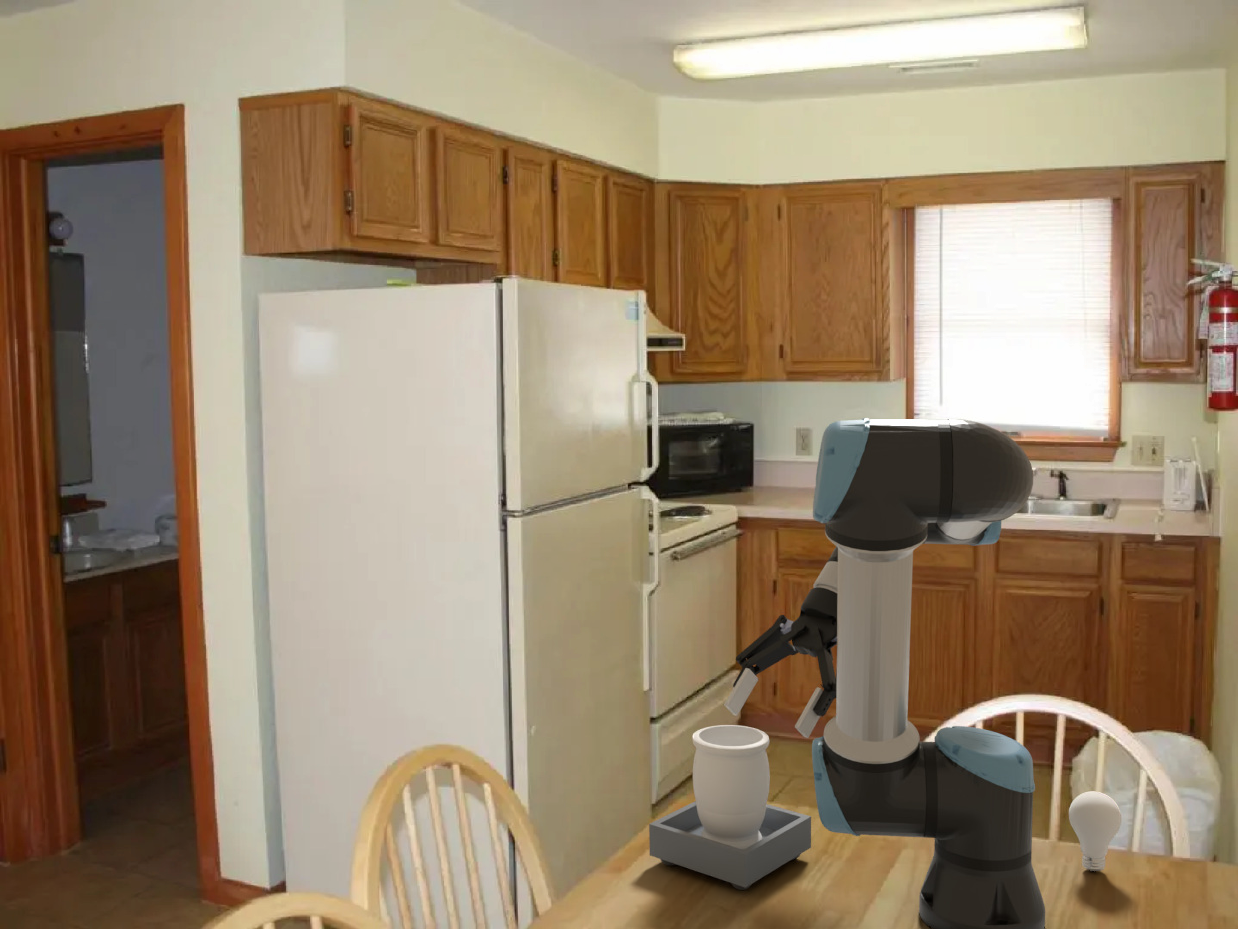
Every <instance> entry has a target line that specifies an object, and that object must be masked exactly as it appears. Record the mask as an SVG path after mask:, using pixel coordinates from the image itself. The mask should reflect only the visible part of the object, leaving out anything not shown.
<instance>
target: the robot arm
mask: <svg viewBox="0 0 1238 929" xmlns="http://www.w3.org/2000/svg"><path fill="white" fill-rule="evenodd" d="M821 438H822V439H821V442H820V448H819V453H818V454H819V455H818V459H817V467H816V474H815V487H814V492H813V503H812V518H813V519H814V521H815V522H819V523H821V524H824V534H825V536H826V538H827V540H829V542H831V543H832V544H833V545H834V546H835V547H834V550H833V551H832V553H831V555H830V557H829V559H828V560H827V561H826V563H825V565H824V567H823V568H822V570H821V571H820V573H819V575H817V576H818V577H817V578H816V580H815V581H814V583H813V588H811V589H810V590H809V592H808V593H807V595H806V597H805V598H804V600H803V602H802V604H800V605H801V606H800V614H799V616H798V617H797V619H796V620H794V621H793V620H790V619H788V618H787V616H786V615H785V614H781V615H779V616H778V617H777V618H776V620H775V622H774V623H773V624H772V625H771V626H770V627H769V628H768V629H767V630H766V631H765V632H763V633H762V634H760V636H759V637H758V638H756V639H755V640H754V641H753V642H752V643H751V644H749V645H748V646H747V647H746V648H745V649H743V651H742V652H740V653H739V654H737V656H736V657H735V660H736V662H737V664H739V666H741V670H740V672H739V674H738V675H737V676H736V678H735V680H734V681H733V684H732V687H733V688H732V690H731V692H730V693H729V696H728V697H727V699H726V700H725V702H724V704H723V705H724V707H726V709H727V710H728V711H729V712H730V713H731V714H732V715H733V716H736V717H737V716H738V715H739V714H740V712H741V710H742V708H743V707H744V705H745V703H746V701H747V699H748V698H749V696H750V694H751V693H752V691H753V689H754V688H755V686H756V684H757V682H758V681H759V677H758V676H757V675H758V674H760V673H762V672H764V671H765V670H767V669H768V668H770V667H772V666H774V665H775V664H777V663H779V662H780V661H782V660H784V659H785V658H788V656H795V655H797V654H798V653H799V654H800V655H809V656H811V657H812V658H816V659H817V661H818V667H819V673H820V677H821V684H820V687H817V686H816V687H815V689H814V691H813V693H812V695H811V696H810V698H809V700H808V702H807V704H806V705H805V707H804V709H803V711H802V713H801V714H800V715H799V716H800V717H798V719H797V721H796V722H795V725H794V728H795V729H796V730H797V731H798V733H800V734H801V736H802V737H804V738H806V739H809V737H810V736H811V735H812V732H813V731H814V729H815V727H816V725H817V723H818V721H819V720H820V718H821V717H822V718H824V717H825V715H826V714H827V712H828V710H829V709H830V706H831V705H832V704H833V702H834V700H835V699H836V701H835V702H836V703H835V704H836V705H835V706H836V708H835V711H836V713H835V715H834V716H833V717H832V718H831V719H830V720H829V721H828V722H827V723H826V724H825V726H824V727H823V728H824V730H823V735H821V737H816V738H814V739H813V740H812V744H811V757H812V770H813V780H814V790H815V800H816V806H817V811H818V816H819V820H820V822H821V824H822V826H823V827H824V828H825V829H827V830H828V831H829V832H831V833H832V832H833V833H838V834H839V833H840V834H847V835H852V836H855V837H860V836H863V835H864V836H881V837H882V836H883V837H884V836H886V837H907V838H929V839H934V844H933V845H934V851H933V856H932V857H931V858H932V859H931V861H930V865H929V866H928V869H927V872H926V875H925V878H924V879H923V883H922V886H921V888H920V891H919V899H918V900H919V901H918V902H919V906H918V907H919V909H918V911H919V912H918V913H919V916H920V918H921V920H922V922H924V924H926V926H928V927H929V926H930V927H931V929H932V928H933V929H1045V928H1044V927H1046V906H1045V903H1044V899H1043V895H1042V893H1041V889H1040V887H1039V883H1038V880H1037V876H1036V874H1035V871H1034V868H1033V864H1032V861H1033V860H1032V852H1033V851H1032V850H1033V810H1034V809H1033V807H1034V806H1033V805H1034V803H1033V802H1034V792H1035V790H1036V785H1035V782H1034V780H1035V779H1034V763H1033V762H1034V761H1033V758H1032V755H1031V753H1030V752H1029V750H1028V749H1027V748H1026V746H1024V745H1023V744H1021V743H1020V742H1019V741H1017V740H1015V739H1013V738H1011V737H1008V736H1007V735H1004V734H1002V733H999V732H995V731H992V730H987V729H984V728H980V727H972V726H965V725H963V726H962V725H953V726H952V727H950V726H949V727H948V726H946V727H942V728H940V729H939V730H937V732H936V734H935V736H934V741H922V740H920V734H919V731H918V729H917V728H916V726H915V725H914V724H913V723H912V722H911V721H909V719H908V711H909V710H908V708H909V707H908V706H909V683H910V682H909V681H910V680H909V677H910V654H911V653H910V652H911V651H910V648H911V647H910V646H911V625H912V624H911V620H912V618H911V617H912V597H913V596H912V592H913V568H914V566H913V565H914V564H913V563H914V562H913V559H914V550H915V549H917V548H918V547H920V546H921V545H924V544H925V545H928V544H935V545H969V546H973V547H974V546H980V545H981V546H982V545H994V544H996V543H997V542H998V541H999V539H1000V537H1001V536H1000V534H1001V532H1002V521H1005V520H1006V519H1008V518H1010V517H1012V516H1014V515H1015V514H1016V513H1017V512H1019V511H1020V510H1021V509H1022V508H1023V507H1024V506H1025V504H1026V503H1027V502H1028V500H1029V499H1030V495H1031V493H1032V490H1033V486H1034V471H1033V467H1032V463H1031V461H1030V459H1029V457H1028V456H1027V454H1026V452H1025V451H1024V449H1023V448H1022V447H1021V445H1019V444H1018V443H1017V442H1016V441H1015V440H1014V439H1013V438H1011V437H1010V436H1008V435H1007V434H1005V433H1004V432H1002V431H1000V430H998V429H996V428H993V427H991V426H990V425H987V424H984V423H981V422H978V421H972V420H967V419H961V418H947V419H871V418H869V417H864V418H863V417H862V419H849V420H848V419H847V420H837V421H834V422H832V423H830V424H829V425H828V426H826V428H825V430H824V431H823V434H822V437H821ZM790 641H791V643H792V644H791V643H790ZM835 646H836V668H834V664H833V663H834V662H833V661H834V657H833V651H832V649H833V648H834V647H835ZM835 669H836V671H835ZM821 687H822V688H821ZM930 927H929V928H930Z"/></svg>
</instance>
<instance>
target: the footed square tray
mask: <svg viewBox="0 0 1238 929" xmlns="http://www.w3.org/2000/svg"><path fill="white" fill-rule="evenodd" d="M648 824H649V826H648V828H649V833H648V834H649V837H648V839H649V856H651V857H654V858H657V859H660V861H661V863H662V864H664V865H665V866H667V867H668V866H669V867H670V866H675V865H678V866H680V867H684V868H687V869H689V870H692V871H695V872H698V873H701V874H704V875H707V876H711V877H713V878H716V879H719V880H721V881H725V882H727V883H730V884H731V885H732V886H733V887H734V888H735V889H736V890H738V891H746V890H748V889H750V887H751V886H752V884H754V883H756V882H757V881H758V880H760V879H762V878H763V877H765V876H767V875H769V874H770V873H772V872H773V871H775V870H777V869H778V868H780V867H782V866H783V865H785V864H787V863H788V862H790V861H792V860H796V859H798V858H799V857H800V856H801V854H803V853H804V852H806V851H808V850H809V849H811V848H812V816H811V815H807V814H804V813H801V812H800V813H799V812H798V811H797V812H796V811H792V810H789V809H785V808H782V807H778V806H776V805H773V804H772V805H771V804H768V803H767V805H766V812H765V817H764V820H763V822H762V825H761V827H760V829H759V832H760V833H761V835H762V840H760V841H758V842H756V843H755V844H753V845H751V846H749V847H748V848H746V849H744V850H742V849H739V848H736V847H733V846H729V845H726V844H723V843H720V842H717V841H714V840H710V839H707V838H704V837H701V833H702V831H703V830H704V827H703V825H702V823H701V821H700V819H699V816H698V811H697V806H696V800H695V801H693V802H690V803H689V804H687V805H685V806H682V807H681V808H678V809H677V810H675V811H672V812H670V813H669V814H666V815H665V816H662V817H661V818H658V819H656V820H654V821H652V822H651V823H648Z"/></svg>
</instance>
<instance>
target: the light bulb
mask: <svg viewBox="0 0 1238 929" xmlns="http://www.w3.org/2000/svg"><path fill="white" fill-rule="evenodd" d="M1069 806H1070V807H1069V809H1068V819H1069V823H1070V825H1071V827H1072V830H1073V831H1074V832H1075V834H1076V837H1077V838H1078V841H1079V845H1080V852H1081V853H1082V856H1081V866H1082V867H1083V868H1084V869H1086V870H1088V871H1089V870H1090V872H1092V871H1094V872H1093V873H1096V872H1095V871H1097V872H1101V871H1103V870H1104V868H1105V867H1106V856H1107V854H1108V852H1109V847H1110V846H1109V845H1110V844H1111V842H1112V840H1113V839H1114V838H1115V836H1116V835H1117V834H1118V832H1119V831H1120V828H1121V825H1122V813H1121V809H1120V808H1119V806H1118V804H1117V802H1116V801H1115V800H1114V799H1113V798H1112V797H1110V796H1109V795H1107V794H1105V793H1103V792H1100V791H1093V790H1090V791H1085V792H1083V793H1081V794H1079V795H1077V796H1076V797H1075V798H1074V799H1073V800H1072V802H1071V803H1070V805H1069Z"/></svg>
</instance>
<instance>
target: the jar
mask: <svg viewBox="0 0 1238 929" xmlns="http://www.w3.org/2000/svg"><path fill="white" fill-rule="evenodd" d="M692 743H693V745H694V747H695V748H696V749H695V753H694V757H693V765H692V787H693V793H694V797H695V798H694V799H695V801H696V806H697V811H698V816H699V819H700V821H701V823H702V825H703V827H704V830H703V831H702V833H701V837H704V838H707V839H710V840H714V841H717V842H720V843H723V844H726V845H729V846H733V847H736V848H739V849H742V850H744V849H746V848H748V847H749V846H751V845H753V844H755V843H756V842H758V841H760V840H762V835H761V833H760V832H759V829H760V827H761V825H762V822H763V820H764V817H765V812H766V805H767V804H768V803H767V802H768V798H769V792H770V784H771V781H770V780H771V778H770V777H771V773H770V764H769V758H768V757H769V756H768V753H767V750H766V749H767V748H768V747H769V745H770V738H769V735H768V734H767V732H765V731H763V730H761V729H758V728H756V727H755V728H754V727H750V726H746V725H739V724H721V725H720V724H719V725H711V726H706V727H702V728H701V729H698V730H696V731H695V732H693V734H692Z"/></svg>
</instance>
